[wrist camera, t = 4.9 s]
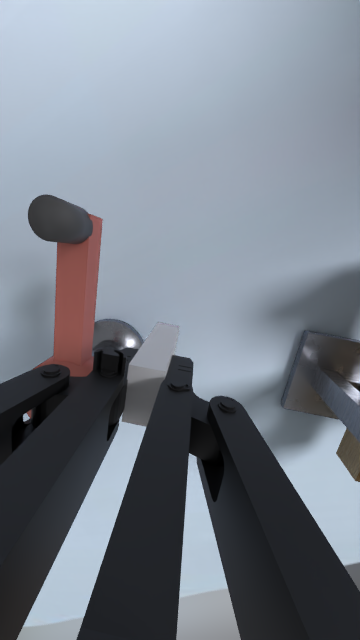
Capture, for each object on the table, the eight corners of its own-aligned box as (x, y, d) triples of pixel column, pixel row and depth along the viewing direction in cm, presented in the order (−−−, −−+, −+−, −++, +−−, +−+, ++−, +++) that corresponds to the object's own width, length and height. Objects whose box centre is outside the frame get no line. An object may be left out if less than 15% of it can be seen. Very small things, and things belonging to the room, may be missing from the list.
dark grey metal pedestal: (82, 313, 24) (35, 334, 17) (150, 326, 23) (129, 353, 17) (78, 374, 26) (34, 416, 19) (141, 387, 25) (119, 435, 19)
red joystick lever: (41, 203, 14) (-15, 183, 11) (137, 219, 14) (114, 206, 10) (38, 414, 18) (-4, 454, 15) (112, 430, 18) (89, 474, 14)
